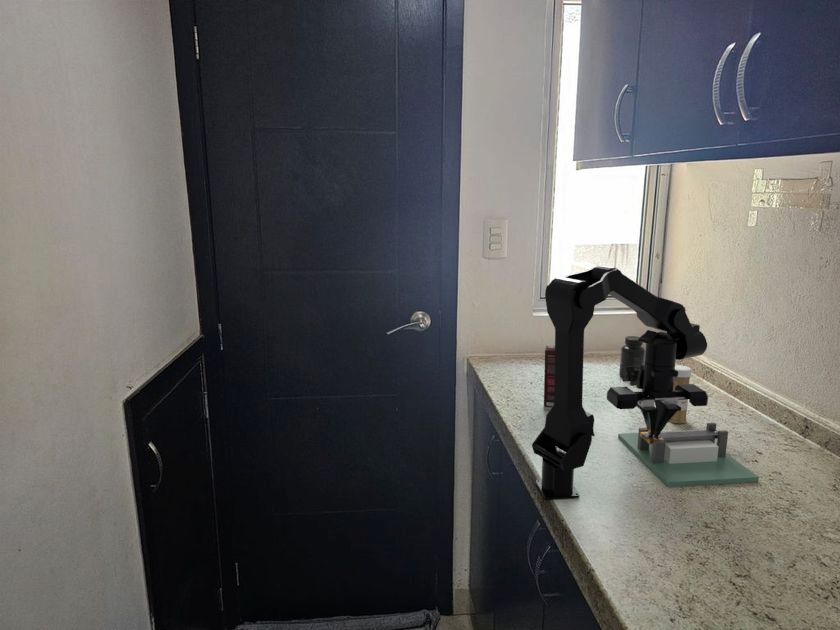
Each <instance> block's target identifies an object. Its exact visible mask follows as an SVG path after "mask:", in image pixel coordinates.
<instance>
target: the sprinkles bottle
mask: <svg viewBox="0 0 840 630" xmlns="http://www.w3.org/2000/svg"><path fill="white" fill-rule="evenodd" d="M675 370H676V371H678V377H674V384H673V390H675V387H676V386H677V385H681V384H690V378H691V376H692V368H691V367H689V366H686V365H682V364H681V365H680V364H675ZM688 403H689V399H687V400H678V406H680V407H681V411H677V412H676V413H675V414H674V415H673V417H672V418H671V419H670V420H669V421H668V422H670V423H673V424H684V423H686V422H687V412H688V405H689V404H688Z"/></svg>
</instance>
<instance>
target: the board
mask: <svg viewBox="0 0 840 630" xmlns="http://www.w3.org/2000/svg"><path fill="white" fill-rule="evenodd" d="M712 429H715V430H717V423H716V422H707V423H706V428H705V430H712ZM681 431H682V430H666V431H664V430H663V431H661V433H662V432H681ZM684 431H698V430H697V429H691V430H689V429H688V430H684ZM717 431H718V439H717V442H716V443H715V441H716V439H700V440H681V441H663V440H653V444H649V443H648V442H647V441H645V440H644V439H643V438H642V437H641V436H640V432H648V430H647V427H638V432H628V433H627V432H626V433H618V434H617V438H618V439H619V441H621V442H622V443H623V444H624V446H626V447H627V449H629V450H630V451H631V453H633V455H635V456H636V457H637V458H638V460H640V461H641V462H642V463H643V464H644V465H645V466H646V467H647V468H648V469H649V471H650V472H652V473H653V474H654V475H655V476H656V477H657V478H658V480H660V481H661V482H662V483H663V484H664V485H665V486H666V488H674V487H677V488H678V487H690V486H691V487H692V486H693V487H694V486H695V487H696V486H709V485H726V484H730V485H731V484H741V483H742V484H745V483H759V478H760V477H759V476H758V475H757V474H755V473H754V472H752V471H751V470H750V469H748V468H747V467H746V466H744V465H743V464H742V463H741V462H739V460H736V459H735V458H734V457H732V456H731V455H729V454H728V453H727V446H728V438H729V437H728V435H729V431H728V430H725V429H724V430H723V429H722V430H717Z"/></svg>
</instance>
